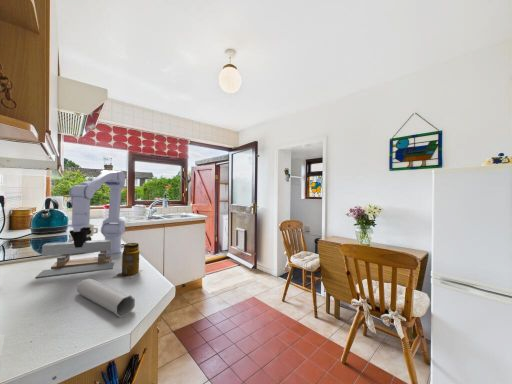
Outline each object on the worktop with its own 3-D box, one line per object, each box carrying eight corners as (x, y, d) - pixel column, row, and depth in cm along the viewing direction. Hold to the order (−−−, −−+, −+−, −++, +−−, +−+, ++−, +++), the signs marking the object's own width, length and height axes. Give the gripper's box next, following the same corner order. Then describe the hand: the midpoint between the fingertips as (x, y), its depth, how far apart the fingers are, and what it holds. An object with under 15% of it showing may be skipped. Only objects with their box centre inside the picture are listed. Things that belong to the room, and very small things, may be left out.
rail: (45, 253, 85) (45, 243, 85) (111, 248, 96) (112, 239, 96) (41, 256, 82) (42, 245, 82) (110, 250, 93) (111, 241, 93)
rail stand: (57, 263, 96) (57, 253, 96) (110, 257, 106) (111, 248, 106) (50, 269, 88) (51, 258, 88) (109, 262, 98) (109, 253, 98)
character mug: (72, 250, 116) (72, 226, 116) (73, 247, 122) (74, 224, 122) (97, 248, 122) (97, 225, 122) (97, 245, 128) (98, 223, 128)
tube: (70, 283, 68) (112, 305, 55) (89, 273, 72) (132, 291, 60) (76, 297, 69) (118, 321, 57) (94, 286, 73) (137, 307, 61)
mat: (43, 271, 86) (43, 270, 86) (114, 263, 98) (114, 262, 98) (35, 278, 79) (35, 277, 79) (112, 268, 91) (112, 267, 91)
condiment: (143, 270, 90) (144, 242, 90) (131, 278, 82) (132, 247, 82) (126, 270, 90) (127, 241, 91) (112, 277, 82) (113, 246, 82)
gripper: (72, 212, 93) (71, 243, 93) (63, 215, 81) (62, 251, 81) (93, 211, 97) (91, 241, 97) (87, 215, 84) (85, 249, 84)
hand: (79, 246), depth 89 cm, fingers closed on rail, 4 cm apart
